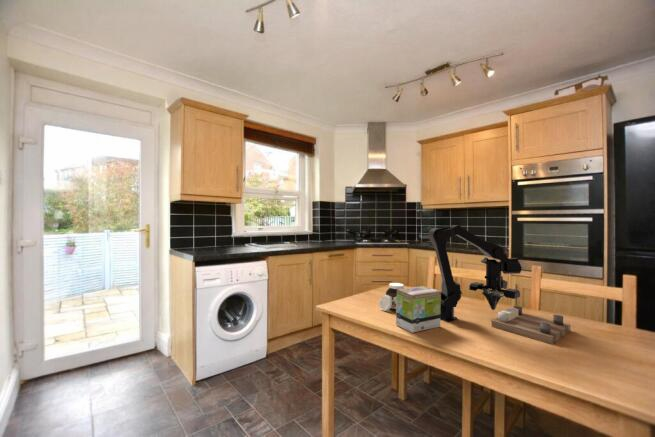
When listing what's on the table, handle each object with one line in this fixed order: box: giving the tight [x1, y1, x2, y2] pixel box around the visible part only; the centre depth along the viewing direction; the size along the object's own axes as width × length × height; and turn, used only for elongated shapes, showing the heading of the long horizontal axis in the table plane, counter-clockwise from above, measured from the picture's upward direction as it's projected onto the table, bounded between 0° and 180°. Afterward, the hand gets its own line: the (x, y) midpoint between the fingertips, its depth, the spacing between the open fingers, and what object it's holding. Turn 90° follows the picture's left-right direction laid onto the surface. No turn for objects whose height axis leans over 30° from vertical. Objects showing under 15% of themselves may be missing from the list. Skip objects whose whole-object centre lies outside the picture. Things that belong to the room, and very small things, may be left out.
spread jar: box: [378, 282, 405, 312], centre depth 138 cm, size 12×11×12 cm
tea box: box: [395, 285, 442, 334], centre depth 117 cm, size 15×10×15 cm, turn 117°
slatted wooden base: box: [491, 305, 571, 345], centre depth 114 cm, size 20×20×6 cm
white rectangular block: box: [497, 307, 518, 322], centre depth 118 cm, size 12×4×3 cm, turn 126°
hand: (493, 309), depth 125 cm, fingers closed
